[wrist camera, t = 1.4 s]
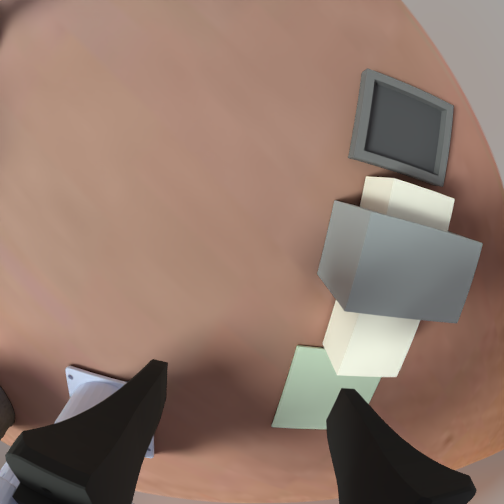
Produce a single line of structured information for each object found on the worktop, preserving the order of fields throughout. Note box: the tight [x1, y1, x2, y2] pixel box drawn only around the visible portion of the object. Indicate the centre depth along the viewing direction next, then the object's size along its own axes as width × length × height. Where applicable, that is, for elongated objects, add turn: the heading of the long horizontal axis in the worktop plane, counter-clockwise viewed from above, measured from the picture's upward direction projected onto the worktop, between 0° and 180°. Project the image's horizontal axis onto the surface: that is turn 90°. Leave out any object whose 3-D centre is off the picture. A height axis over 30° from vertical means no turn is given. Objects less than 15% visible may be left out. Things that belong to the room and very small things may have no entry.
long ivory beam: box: [322, 176, 455, 377], centre depth 19 cm, size 12×4×4 cm, turn 169°
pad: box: [271, 345, 381, 429], centre depth 23 cm, size 8×8×1 cm
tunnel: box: [317, 200, 483, 323], centre depth 18 cm, size 5×8×6 cm, turn 79°
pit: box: [348, 68, 454, 187], centre depth 18 cm, size 6×7×1 cm
